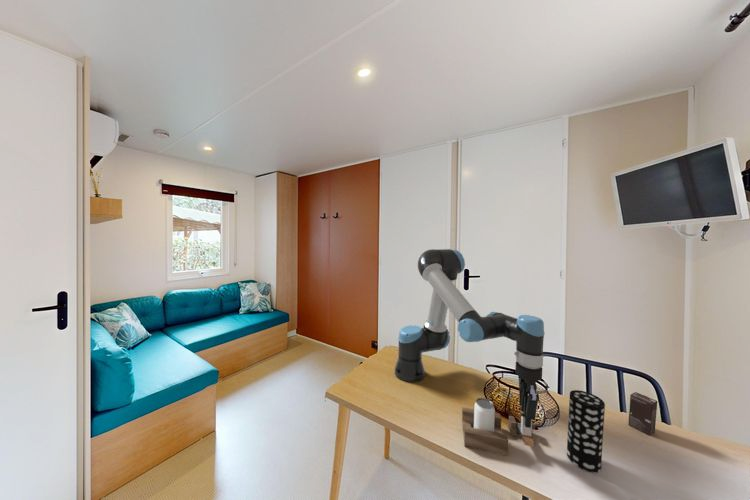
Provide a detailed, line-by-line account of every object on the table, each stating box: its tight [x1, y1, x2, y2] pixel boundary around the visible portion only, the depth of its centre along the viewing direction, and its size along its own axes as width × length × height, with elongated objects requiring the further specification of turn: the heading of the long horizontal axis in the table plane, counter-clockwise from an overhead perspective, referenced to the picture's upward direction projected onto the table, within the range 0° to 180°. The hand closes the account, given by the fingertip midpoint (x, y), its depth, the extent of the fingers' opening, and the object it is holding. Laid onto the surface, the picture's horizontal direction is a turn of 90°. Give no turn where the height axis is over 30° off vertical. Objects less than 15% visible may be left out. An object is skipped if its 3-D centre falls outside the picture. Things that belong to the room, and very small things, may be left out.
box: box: [627, 391, 658, 437], centre depth 93 cm, size 6×4×12 cm
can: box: [473, 397, 496, 432], centre depth 88 cm, size 6×6×12 cm
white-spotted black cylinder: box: [566, 389, 606, 473], centre depth 79 cm, size 8×8×20 cm
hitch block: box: [461, 406, 533, 457], centre depth 87 cm, size 14×23×5 cm, turn 75°
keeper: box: [516, 421, 535, 447], centre depth 86 cm, size 11×3×2 cm, turn 165°
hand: (525, 433), depth 84 cm, fingers closed
